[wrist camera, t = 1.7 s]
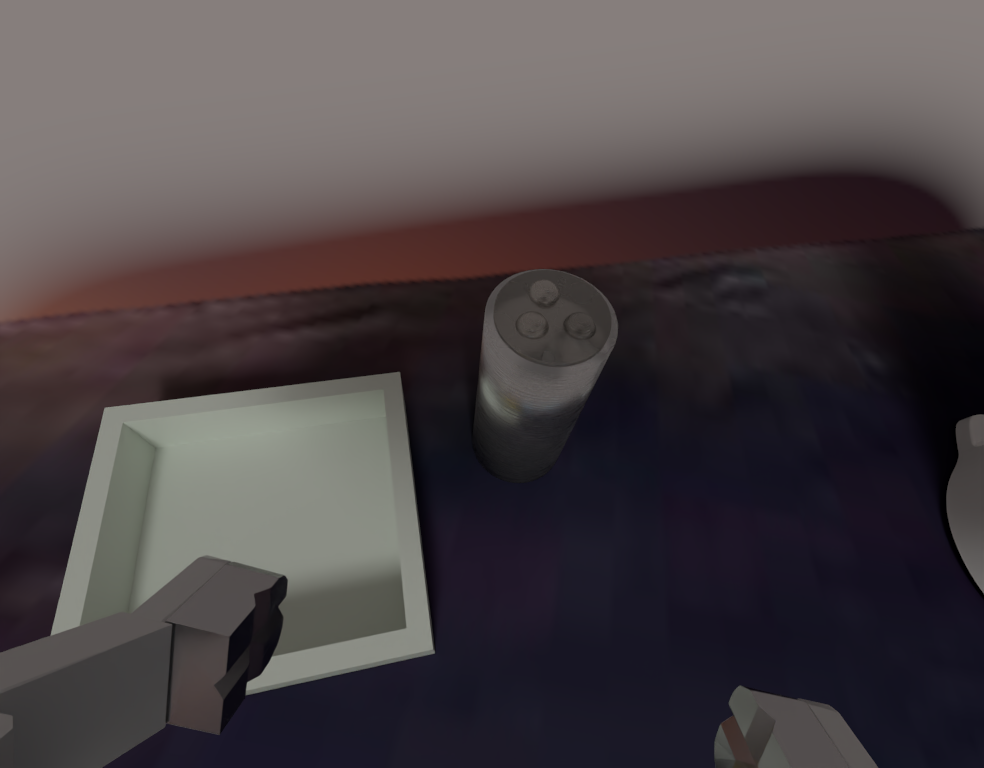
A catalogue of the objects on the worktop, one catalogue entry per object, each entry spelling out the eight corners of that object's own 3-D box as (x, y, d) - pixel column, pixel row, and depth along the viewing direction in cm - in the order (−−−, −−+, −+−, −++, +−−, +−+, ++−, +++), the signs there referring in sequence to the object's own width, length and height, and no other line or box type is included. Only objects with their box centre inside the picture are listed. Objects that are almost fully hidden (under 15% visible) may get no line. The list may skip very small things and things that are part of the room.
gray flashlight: (547, 397, 32) (599, 250, 21) (570, 475, 29) (644, 353, 18) (465, 408, 31) (474, 261, 20) (481, 490, 28) (502, 371, 17)
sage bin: (405, 405, 30) (399, 371, 27) (435, 653, 24) (433, 649, 20) (146, 440, 28) (104, 407, 25) (94, 728, 21) (26, 739, 18)
